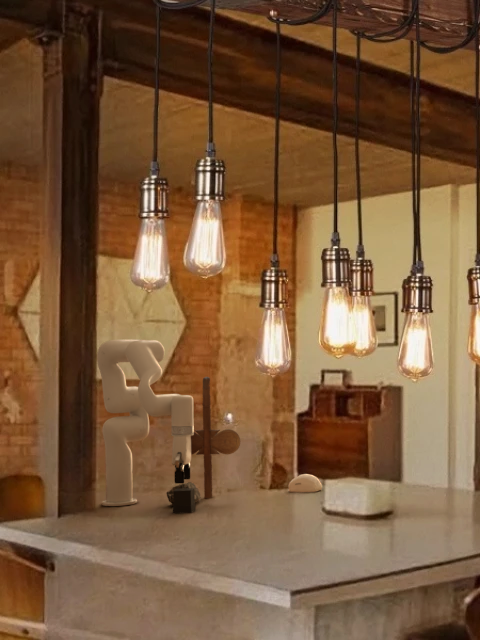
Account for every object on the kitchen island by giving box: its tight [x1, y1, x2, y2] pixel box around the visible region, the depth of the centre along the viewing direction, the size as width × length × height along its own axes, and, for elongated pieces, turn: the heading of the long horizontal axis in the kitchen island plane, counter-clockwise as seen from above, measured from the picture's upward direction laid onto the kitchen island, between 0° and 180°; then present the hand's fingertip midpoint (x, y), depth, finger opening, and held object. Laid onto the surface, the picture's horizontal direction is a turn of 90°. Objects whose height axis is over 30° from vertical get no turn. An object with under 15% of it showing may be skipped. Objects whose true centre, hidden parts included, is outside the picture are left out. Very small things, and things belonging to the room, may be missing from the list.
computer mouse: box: [287, 473, 323, 493], centre depth 417 cm, size 6×13×6 cm, turn 75°
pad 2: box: [173, 496, 196, 506], centre depth 374 cm, size 6×6×2 cm
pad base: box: [172, 502, 196, 514], centre depth 374 cm, size 6×6×2 cm
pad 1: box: [173, 488, 195, 498], centre depth 374 cm, size 6×6×2 cm
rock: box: [166, 481, 202, 506], centre depth 393 cm, size 18×10×10 cm
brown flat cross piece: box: [191, 376, 241, 499], centre depth 408 cm, size 25×4×45 cm, turn 81°
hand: (182, 481), depth 375 cm, fingers open, 9 cm apart
